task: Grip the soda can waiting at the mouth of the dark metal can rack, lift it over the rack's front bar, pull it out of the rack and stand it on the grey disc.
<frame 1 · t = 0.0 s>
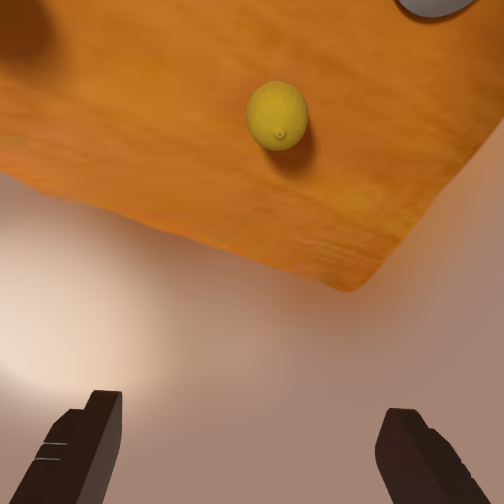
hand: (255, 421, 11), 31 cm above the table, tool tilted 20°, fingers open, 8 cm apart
lemon: (274, 99, 35), on the table
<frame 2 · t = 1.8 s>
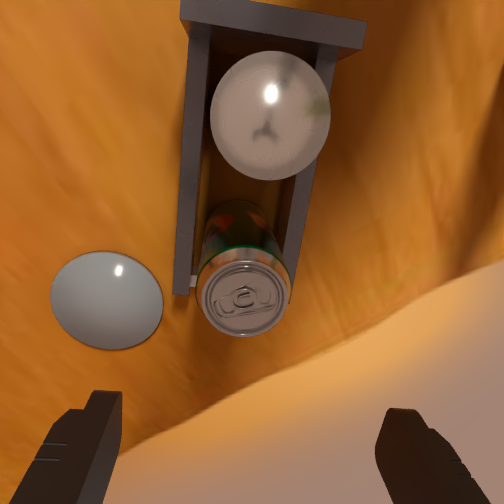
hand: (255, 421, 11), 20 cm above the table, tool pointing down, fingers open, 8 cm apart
grey disc: (109, 300, 30), on the table
can rack: (244, 172, 27), on the table
grey metal cylinder: (251, 117, 26), resting in can rack
soda can: (237, 228, 29), resting in can rack
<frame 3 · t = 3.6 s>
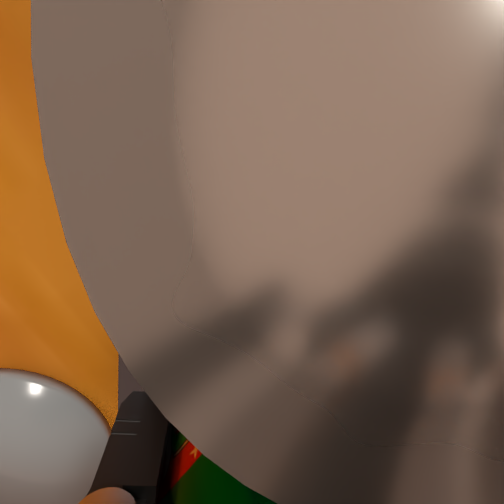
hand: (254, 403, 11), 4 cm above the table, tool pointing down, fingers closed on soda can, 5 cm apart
grey disc: (17, 446, 17), on the table
can rack: (261, 227, 14), on the table
grey metal cylinder: (278, 119, 13), resting in can rack
soda can: (246, 324, 16), resting in can rack, touching gripper
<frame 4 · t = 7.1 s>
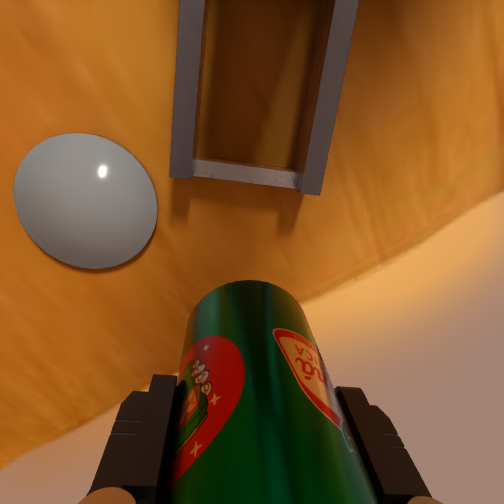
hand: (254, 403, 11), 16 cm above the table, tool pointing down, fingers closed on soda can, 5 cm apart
grey disc: (89, 203, 24), on the table
can rack: (262, 25, 21), on the table
soda can: (246, 324, 16), point 11 cm above the table, touching gripper
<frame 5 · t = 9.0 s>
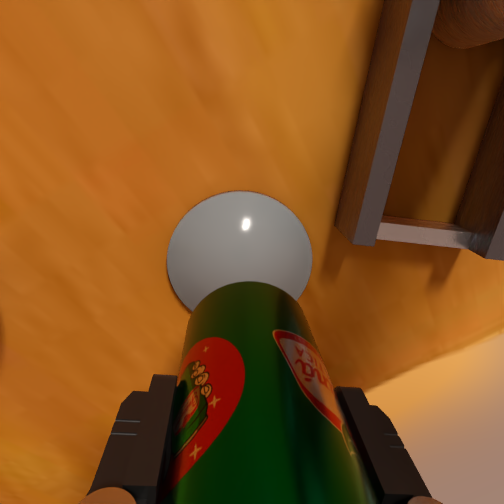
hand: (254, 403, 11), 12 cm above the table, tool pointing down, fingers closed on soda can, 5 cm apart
grey disc: (240, 260, 23), on the table
can rack: (446, 78, 20), on the table
soda can: (246, 325, 16), point 8 cm above the table, touching gripper
when the fingers open (5 cm above the table, at t = 10.6 s): soda can stays where it is, resting on grey disc.
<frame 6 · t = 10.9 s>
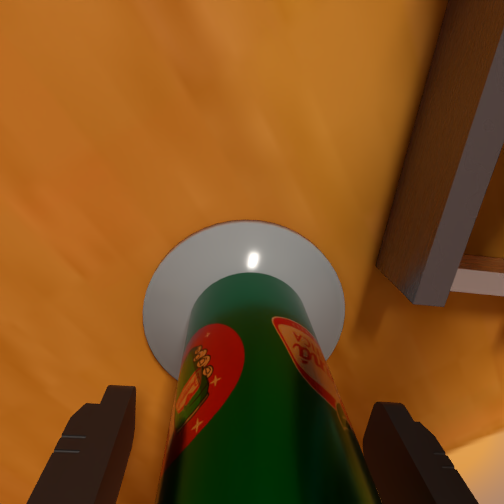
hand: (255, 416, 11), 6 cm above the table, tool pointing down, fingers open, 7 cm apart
grey disc: (245, 313, 17), on the table
soda can: (247, 316, 16), resting on grey disc
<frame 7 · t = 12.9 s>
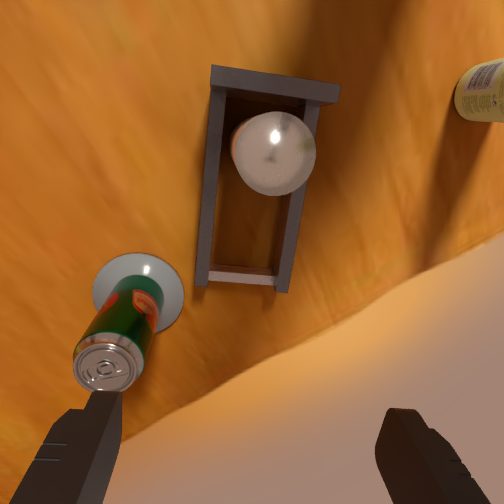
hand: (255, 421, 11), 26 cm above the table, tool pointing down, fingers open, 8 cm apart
grey disc: (140, 293, 37), on the table
can rack: (250, 188, 35), on the table
tube: (475, 96, 34), on the table
grey metal cylinder: (256, 145, 33), resting in can rack
soda can: (139, 294, 37), resting on grey disc
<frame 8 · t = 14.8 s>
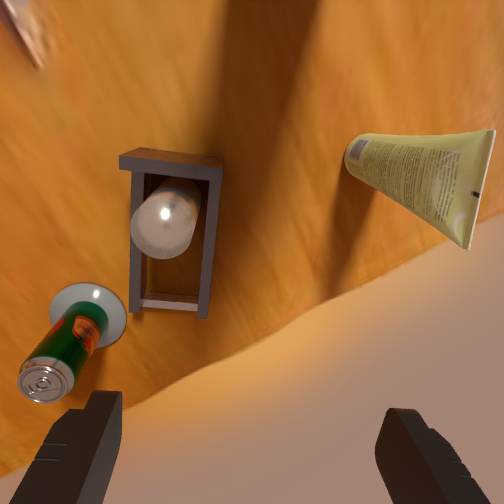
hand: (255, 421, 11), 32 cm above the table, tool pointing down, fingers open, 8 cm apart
grey disc: (89, 315, 45), on the table
can rack: (177, 232, 42), on the table
tube: (364, 158, 40), on the table
grey metal cylinder: (179, 198, 40), resting in can rack
soda can: (89, 316, 44), resting on grey disc
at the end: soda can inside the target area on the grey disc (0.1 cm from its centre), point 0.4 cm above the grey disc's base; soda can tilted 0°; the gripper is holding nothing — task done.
